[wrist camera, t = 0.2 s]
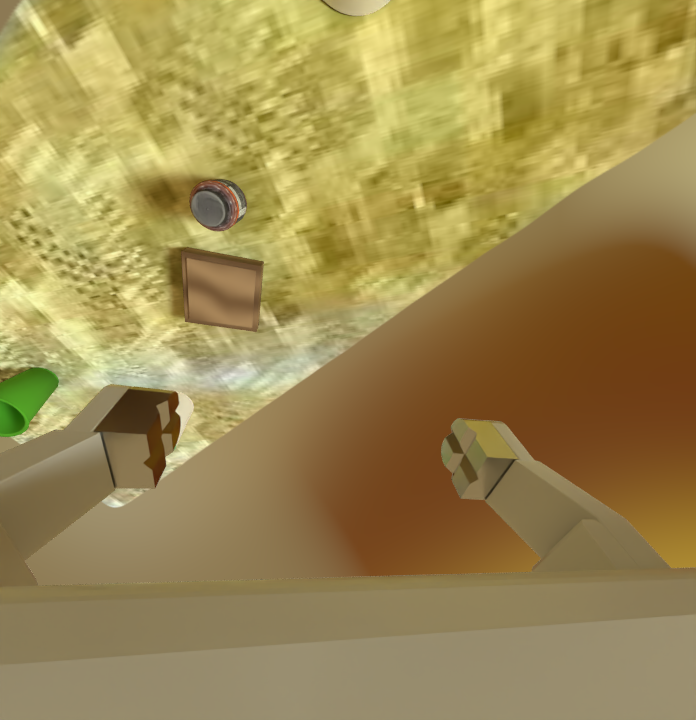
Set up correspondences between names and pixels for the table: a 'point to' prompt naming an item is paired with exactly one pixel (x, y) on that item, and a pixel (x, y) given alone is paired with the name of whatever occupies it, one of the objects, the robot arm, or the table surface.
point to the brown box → (221, 289)
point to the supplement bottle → (217, 204)
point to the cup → (24, 399)
